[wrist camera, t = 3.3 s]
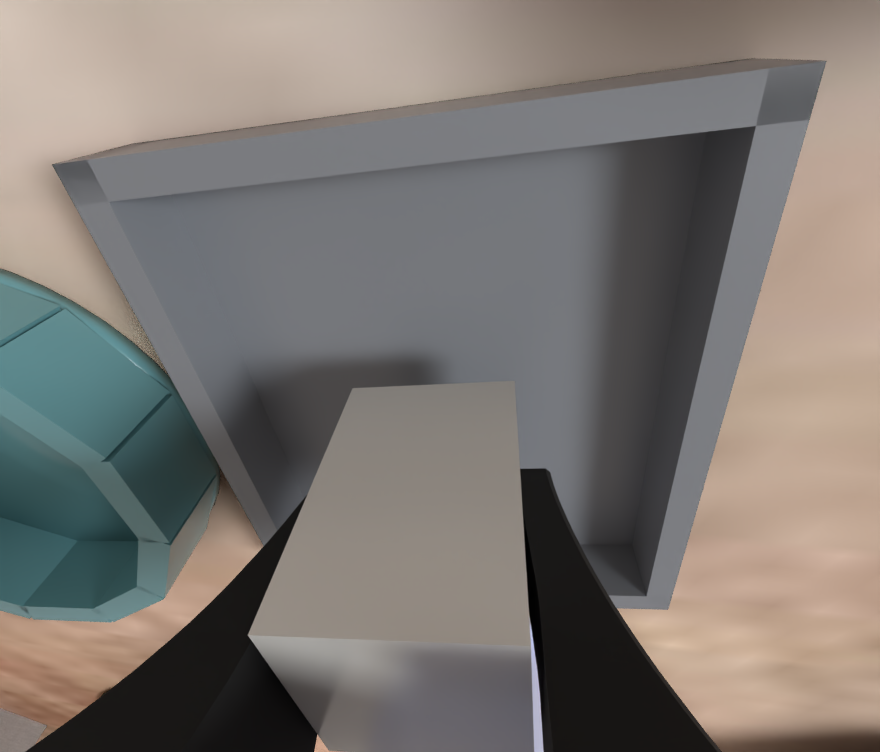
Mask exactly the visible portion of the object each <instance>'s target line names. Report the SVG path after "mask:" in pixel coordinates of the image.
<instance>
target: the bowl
mask: <svg viewBox="0 0 880 752" xmlns="http://www.w3.org/2000/svg"><path fill="white" fill-rule="evenodd" d="M219 486H220V471H219V464H218V463H217V461H216V459H215V457H214V455H213V454H212V452H211V450H210V448H209V446H208V445H207V443H206V441H205V439H204V437H203V436H202V434H201V432H200V430H199V428H198V427H197V425H196V423H195V421H194V419H193V418H192V416H191V414H190V412H189V410H188V409H187V407H186V405H185V403H184V401H183V400H182V398H181V396H180V394H179V392H178V391H177V389H176V387H175V385H174V383H173V382H172V380H171V378H170V377H169V376H168V375H167V374H166V373H165V372H164V371H163V370H162V369H161V368H160V367H159V366H158V365H157V364H156V363H155V362H154V361H153V360H152V359H151V358H150V357H149V356H147V355H146V354H145V353H144V352H143V351H142V350H141V349H140V348H138V347H137V346H136V345H135V344H134V343H133V342H132V341H130V340H129V339H128V338H126V337H125V336H124V335H122V334H121V333H120V332H118V331H117V330H116V329H114V328H113V327H112V326H110V325H109V324H108V323H106V322H105V321H103V320H102V319H100V318H99V317H97V316H95V315H94V314H92V313H91V312H89V311H88V310H86V309H84V308H83V307H81V306H80V305H78V304H76V303H75V302H73V301H71V300H69V299H67V298H65V297H63V296H61V295H60V294H58V293H56V292H54V291H52V290H50V289H48V288H46V287H44V286H42V285H40V284H37V283H35V282H33V281H30V280H28V279H26V278H23V277H21V276H19V275H17V274H14V273H12V272H9V271H6V270H3V269H0V611H4V612H8V613H11V614H15V615H18V616H22V617H26V618H29V619H30V618H31V617H32V618H33V619H38V620H64V621H90V622H112V621H113V622H115V621H117V620H119V619H121V618H124V617H126V616H128V615H130V614H132V613H135V612H137V611H139V610H141V609H143V608H146V607H148V606H150V605H152V604H154V603H156V602H159V601H161V600H163V599H164V598H165V597H166V595H167V593H168V592H169V590H170V588H171V587H172V585H173V583H174V582H175V580H176V578H177V577H178V575H179V573H180V572H181V570H182V568H183V567H184V565H185V564H186V562H187V560H188V559H189V557H190V555H191V554H192V552H193V550H194V549H195V547H196V545H197V544H198V542H199V540H200V539H201V537H202V535H203V534H204V532H205V530H206V529H207V525H208V520H209V514H210V511H211V510H212V508H213V506H214V505H215V502H216V499H217V496H218V493H219Z"/></svg>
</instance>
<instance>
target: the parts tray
mask: <svg viewBox="0 0 880 752" xmlns="http://www.w3.org/2000/svg"><path fill="white" fill-rule="evenodd" d="M825 64H826V61H819V60H788V59H756V58H752V59H744V60H737V61H730V62H723V63H715V64H708V65H701V66H694V67H686V68H679V69H672V70H665V71H657V72H650V73H643V74H636V75H628V76H621V77H614V78H607V79H599V80H592V81H585V82H577V83H570V84H563V85H556V86H548V87H541V88H534V89H527V90H519V91H512V92H505V93H498V94H490V95H483V96H476V97H469V98H461V99H454V100H447V101H439V102H432V103H425V104H418V105H410V106H403V107H396V108H389V109H381V110H374V111H367V112H360V113H352V114H345V115H338V116H331V117H323V118H316V119H309V120H302V121H294V122H287V123H280V124H272V125H265V126H258V127H251V128H243V129H236V130H229V131H222V132H214V133H207V134H200V135H193V136H185V137H178V138H171V139H164V140H156V141H149V142H142V143H135V144H130V145H126V146H122V147H118V148H114V149H110V150H106V151H103V152H99V153H95V154H91V155H87V156H83V157H79V158H75V159H72V160H68V161H64V162H60V163H56V164H52V165H53V167H54V169H55V171H56V173H57V174H58V176H59V178H60V180H61V182H62V183H63V185H64V187H65V189H66V191H67V192H68V194H69V196H70V198H71V200H72V202H73V203H74V205H75V207H76V209H77V211H78V212H79V214H80V216H81V218H82V220H83V221H84V223H85V225H86V227H87V229H88V230H89V232H90V234H91V236H92V238H93V239H94V241H95V243H96V245H97V247H98V248H99V250H100V252H101V254H102V256H103V257H104V259H105V261H106V263H107V265H108V266H109V268H110V270H111V272H112V274H113V275H114V277H115V279H116V281H117V283H118V284H119V286H120V288H121V290H122V292H123V293H124V295H125V297H126V299H127V301H128V302H129V304H130V306H131V308H132V310H133V311H134V313H135V315H136V317H137V319H138V320H139V322H140V324H141V326H142V328H143V329H144V331H145V333H146V335H147V337H148V338H149V340H150V342H151V344H152V346H153V347H154V349H155V351H156V353H157V355H158V356H159V358H160V360H161V362H162V364H163V365H164V367H165V369H166V371H167V373H168V374H169V376H170V378H171V380H172V382H173V383H174V385H175V387H176V389H177V391H178V392H179V394H180V396H181V398H182V400H183V401H184V403H185V405H186V407H187V409H188V410H189V412H190V414H191V416H192V418H193V419H194V421H195V423H196V425H197V427H198V428H199V430H200V432H201V434H202V436H203V437H204V439H205V441H206V443H207V445H208V446H209V448H210V450H211V452H212V454H213V455H214V457H215V459H216V461H217V463H218V464H219V466H220V468H221V470H222V472H223V473H224V475H225V477H226V479H227V481H228V482H229V484H230V486H231V488H232V490H233V491H234V493H235V495H236V497H237V499H238V500H239V502H240V504H241V506H242V508H243V509H244V511H245V513H246V515H247V517H248V518H249V520H250V522H251V524H252V526H253V527H254V529H255V531H256V533H257V535H258V536H259V538H260V540H261V542H262V544H263V545H264V546H265V544H266V543H267V542H268V541H269V540H270V538H271V537H272V536H273V535H274V534H275V533H276V531H277V530H278V529H279V528H280V527H281V526H282V524H283V523H284V522H285V521H286V520H287V518H288V517H289V516H290V515H291V514H292V512H293V511H294V510H295V509H296V507H297V506H298V505H299V504H300V503H301V501H302V500H303V499H304V498H305V496H306V495H307V494H308V492H309V490H310V487H311V485H312V483H313V480H314V478H315V476H316V473H317V471H318V468H319V466H320V464H321V461H322V459H323V457H324V454H325V452H326V450H327V447H328V445H329V443H330V440H331V438H332V435H333V433H334V431H335V428H336V426H337V424H338V421H339V419H340V417H341V414H342V412H343V410H344V407H345V405H346V402H347V400H348V398H349V395H350V393H351V391H352V388H369V387H390V386H412V385H434V384H455V383H477V382H499V381H515V396H516V412H517V428H518V444H519V460H520V469H537V468H546V469H547V470H548V471H550V473H551V477H552V481H553V484H554V487H555V490H556V493H557V495H558V498H559V500H560V503H561V505H562V508H563V510H564V512H565V514H566V517H567V519H568V521H569V523H570V525H571V528H572V530H573V532H574V534H575V536H576V538H577V539H578V541H579V543H580V545H581V547H582V549H583V551H584V553H585V555H586V557H587V559H588V561H589V562H590V564H591V566H592V568H593V570H594V571H595V573H596V575H597V577H598V578H599V580H600V582H601V583H602V585H603V587H604V589H605V590H606V592H607V594H608V595H609V597H610V599H611V600H612V602H613V603H614V605H615V607H616V608H628V609H663V610H668V608H669V605H670V601H671V598H672V594H673V591H674V587H675V584H676V580H677V577H678V573H679V570H680V567H681V563H682V560H683V556H684V553H685V549H686V546H687V542H688V539H689V535H690V532H691V528H692V525H693V521H694V518H695V515H696V511H697V508H698V504H699V501H700V497H701V494H702V490H703V487H704V483H705V480H706V476H707V473H708V470H709V466H710V463H711V459H712V456H713V452H714V449H715V445H716V442H717V438H718V435H719V431H720V428H721V424H722V421H723V418H724V414H725V411H726V407H727V404H728V400H729V397H730V393H731V390H732V386H733V383H734V379H735V376H736V373H737V369H738V366H739V362H740V359H741V355H742V352H743V348H744V345H745V341H746V338H747V334H748V331H749V327H750V324H751V321H752V317H753V314H754V310H755V307H756V303H757V300H758V296H759V293H760V289H761V286H762V282H763V279H764V275H765V272H766V269H767V265H768V262H769V258H770V255H771V251H772V248H773V244H774V241H775V237H776V234H777V230H778V227H779V224H780V220H781V217H782V213H783V210H784V206H785V203H786V199H787V196H788V192H789V189H790V185H791V182H792V178H793V175H794V172H795V168H796V165H797V161H798V158H799V154H800V151H801V147H802V144H803V140H804V137H805V133H806V130H807V127H808V123H809V120H810V116H811V113H812V109H813V106H814V102H815V99H816V95H817V92H818V88H819V85H820V81H821V78H822V75H823V71H824V68H825Z"/></svg>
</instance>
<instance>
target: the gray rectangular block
mask: <svg viewBox="0 0 880 752" xmlns="http://www.w3.org/2000/svg"><path fill="white" fill-rule="evenodd" d="M248 636H249V638H250V639H251V641H252V642H253V643H254V645H255V646H256V648H257V649H258V650H259V652H260V653H261V655H262V656H263V658H264V659H265V660H266V662H267V663H268V665H269V666H270V667H271V669H272V670H273V672H274V673H275V675H276V676H277V677H278V679H279V680H280V682H281V683H282V685H283V686H284V687H285V689H286V690H287V692H288V693H289V694H290V696H291V697H292V699H293V700H294V702H295V703H296V704H297V706H298V707H299V709H300V710H301V712H302V713H303V714H304V716H305V717H306V719H307V720H308V721H309V723H310V724H311V726H312V727H313V729H314V730H315V731H316V733H317V734H318V736H319V737H320V738H321V740H322V741H323V743H324V744H325V746H326V747H327V748H328V750H329V751H342V752H534V729H533V695H532V662H531V638H530V622H529V605H528V589H527V573H526V557H525V541H524V525H523V509H522V493H521V477H520V460H519V444H518V428H517V412H516V396H515V381H499V382H477V383H455V384H434V385H412V386H390V387H369V388H352V391H351V393H350V395H349V398H348V400H347V402H346V405H345V407H344V410H343V412H342V414H341V417H340V419H339V421H338V424H337V426H336V428H335V431H334V433H333V435H332V438H331V440H330V443H329V445H328V447H327V450H326V452H325V454H324V457H323V459H322V461H321V464H320V466H319V468H318V471H317V473H316V476H315V478H314V480H313V483H312V485H311V487H310V490H309V492H308V494H307V497H306V499H305V501H304V504H303V506H302V509H301V511H300V513H299V516H298V518H297V520H296V523H295V525H294V527H293V530H292V532H291V534H290V537H289V539H288V542H287V544H286V546H285V549H284V551H283V553H282V556H281V558H280V560H279V563H278V565H277V568H276V570H275V572H274V575H273V577H272V579H271V582H270V584H269V586H268V589H267V591H266V593H265V596H264V598H263V601H262V603H261V605H260V608H259V610H258V612H257V615H256V617H255V619H254V622H253V624H252V626H251V629H250V631H249V634H248Z"/></svg>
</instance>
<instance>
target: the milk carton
mask: <svg viewBox="0 0 880 752" xmlns="http://www.w3.org/2000/svg"><path fill="white" fill-rule="evenodd" d="M46 727H47V725H44V724H42V723H39V722H36V721H34V720H31V719H28V718H26V717H23V716H20V715H17V714H15V713H12V712H9V711H7V710H4V709H1V708H0V752H25V751H27V750H28V749H30V748H31V747H32V746H34V745H35V743H36V742H37V740H38V739H39V737H40V736H41V734H42V733H43V731H44V730H45V728H46Z"/></svg>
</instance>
